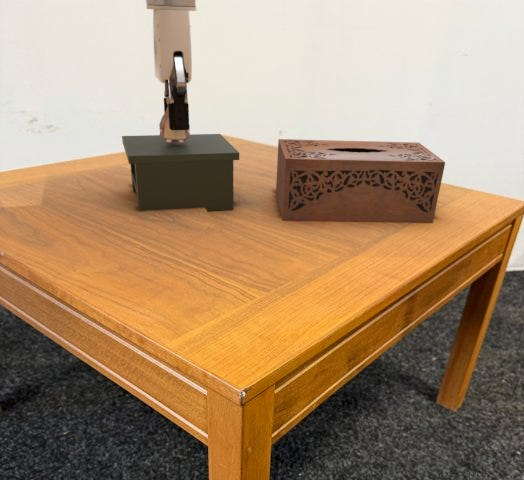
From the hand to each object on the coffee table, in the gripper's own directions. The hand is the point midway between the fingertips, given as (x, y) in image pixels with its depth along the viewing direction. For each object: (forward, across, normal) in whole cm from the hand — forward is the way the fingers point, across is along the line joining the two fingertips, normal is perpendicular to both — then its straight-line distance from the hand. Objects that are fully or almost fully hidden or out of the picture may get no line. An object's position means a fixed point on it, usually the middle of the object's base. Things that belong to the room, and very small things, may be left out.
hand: (176, 125), depth 93 cm
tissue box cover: (+13, +10, +29) cm, 33 cm away
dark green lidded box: (+13, 0, 0) cm, 13 cm away
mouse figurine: (+2, -2, 0) cm, 3 cm away
